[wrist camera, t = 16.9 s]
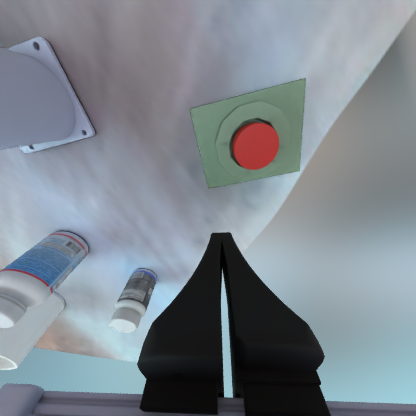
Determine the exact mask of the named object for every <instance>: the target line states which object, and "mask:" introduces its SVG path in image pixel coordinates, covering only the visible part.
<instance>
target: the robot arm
mask: <svg viewBox="0 0 416 416" xmlns="http://www.w3.org/2000/svg"><path fill="white" fill-rule="evenodd" d="M38 45H39V47H40V49H38ZM84 131H86V132H87V135H86V134H85V132H84ZM94 135H95V130H94V128H93V126H92V125H91V123H90V121H89V119H88V117H87V115H86V113H85V111H84V109H83V107H82V105H81V103H80V102H79V100H78V98H77V96H76V94H75V92H74V90H73V88H72V86H71V84H70V82H69V80H68V78H67V77H66V75H65V73H64V71H63V69H62V67H61V65H60V63H59V61H58V59H57V57H56V55H55V53H54V52H53V50H52V48H51V46H50V44H49V42H48V41H47V40H46V39H44V38H42V37H35V38H33V39H30V40H28V41H25V42H22V43H20V44H17V45H15V46H12V47H10V48H7V49H5V48H2V47H0V149H7V148H13V147H19V148H20V149H21V150H22V151H23V152H24V153H32V152H36V151H40V150H44V149H47V148H51V147H55V146H59V145H62V144H66V143H70V142H74V141H77V140H81V139H85V138H89V137H92V136H94ZM33 147H34V148H33ZM222 268H223V275H224V281H225V288H226V296H227V304H228V319H229V335H230V352H231V367H232V386H233V398H227V397H226V398H225V397H224V382H223V354H222V326H221V283H222ZM324 357H325V356H324V353H323V351H322V348H321V346H320V344H319V342H318V340H317V339H316V337H315V335H314V334H313V332H312V330H311V329H310V327H309V325H308V324H307V323H306V322H305V321H303V320H302V319H301V318H300V317H299V316H298V315H296V314H295V313H294V312H293V311H292V310H291V309H290V308H288V307H287V306H286V305H285V304H284V303H283V302H282V301H281V300H280V299H279V298H278V297H277V296H276V295H275V294H274V293H273V292H272V291H271V290H270V289H269V288H268V287H267V286H266V285H265V284H264V283H263V282H262V280H261V279H260V278H259V277H258V276H257V275H256V273H255V272H254V271H253V270H252V268H251V267H250V266H249V264H248V263H247V261H246V260H245V259H244V257H243V256H242V254H241V252H240V251H239V249H238V247H237V245H236V243H235V242H234V239H233V237H232V235H231V233H230V232H228V233H212V234H211V237H210V241H209V244H208V246H207V249H206V251H205V253H204V255H203V257H202V259H201V261H200V263H199V265H198V267H197V268H196V270H195V272H194V273H193V275H192V276H191V278H190V279H189V281H188V282H187V284H186V285H185V286H184V288H183V289H182V290H181V292H180V293H179V294H178V295H177V296H176V298H175V299H174V300H173V301H172V302H171V304H170V305H169V306H168V307H167V308H166V309H165V310H164V311H163V312H162V313H161V314H160V315H159V316H158V317H157V319H156V320H155V321H154V322H153V323H152V325H151V327H150V329H149V331H148V334H147V336H146V338H145V341H144V343H143V347H142V350H141V353H140V357H139V360H138V363H137V365H138V368H139V370H140V371H141V373H142V374H143V375H144V376H145V378H146V379H147V380H146V384H145V388H144V391H143V394H116V393H89V392H86V393H85V392H59V391H44V389H43V388H41V387H39V386H35V385H31V384H5V385H3V386H2V388H1V389H0V416H416V404H393V403H364V402H337V401H336V402H335V401H325V399H324V396H323V394H322V391H321V389H320V386H319V385H321V381H320V379H319V376H318V374H317V371H316V370H317V369H318V367H319V366H320V365H321V364H322V362H323V360H324Z"/></svg>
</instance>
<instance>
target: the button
mask: <svg viewBox="0 0 416 416" xmlns="http://www.w3.org/2000/svg"><path fill="white" fill-rule="evenodd" d="M278 149H279V137H278V134H277V132H276V131H275V129H274V128H272V127H271V126H270V125H268V124H264V123H257V122H253V123H249V124H246V125H244V126H243V127H242V128H240V129H239V130H238V132H237V133H236V135H235V137H234V139H233V143H232V150H233V153H234V156H235V158H236V160H237V161H238V163H239V164H240V165H241V166H243V167H244V168H246V169H250V170H257V169H261V168H263V167H265V166H267V165H268V164H270V163H271V162H272V161H273V159H274V158H275V156H276V155H277V152H278Z"/></svg>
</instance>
